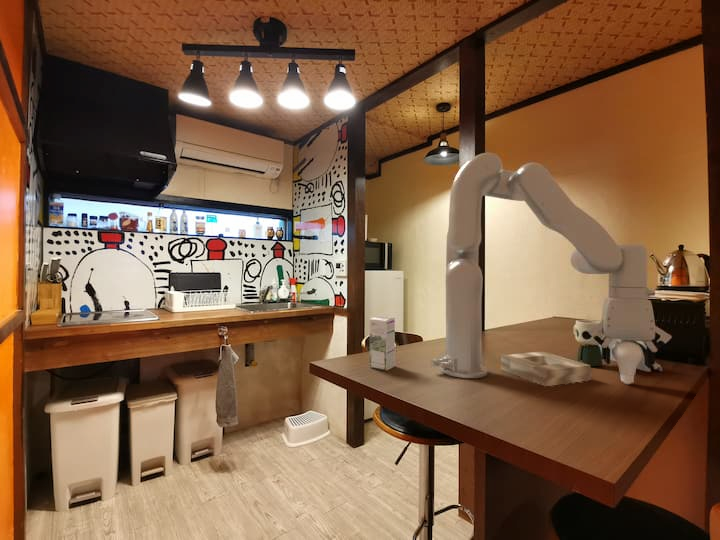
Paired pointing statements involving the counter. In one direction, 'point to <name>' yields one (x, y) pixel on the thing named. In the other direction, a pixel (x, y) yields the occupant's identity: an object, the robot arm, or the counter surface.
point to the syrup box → (382, 343)
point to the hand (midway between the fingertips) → (627, 364)
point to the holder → (545, 368)
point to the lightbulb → (627, 358)
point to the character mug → (588, 343)
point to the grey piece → (642, 362)
